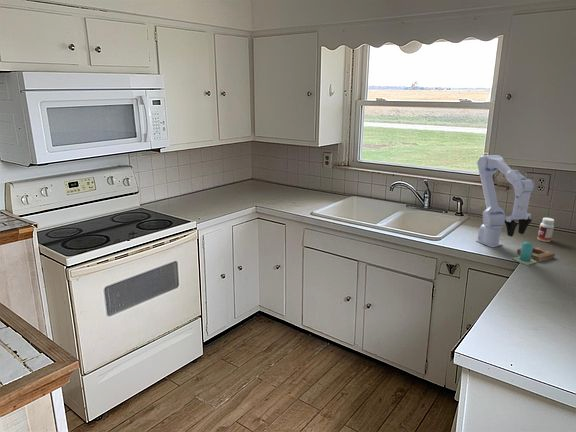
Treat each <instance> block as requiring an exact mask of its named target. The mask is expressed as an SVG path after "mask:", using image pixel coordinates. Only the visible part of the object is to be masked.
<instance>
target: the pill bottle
mask: <svg viewBox="0 0 576 432" xmlns="http://www.w3.org/2000/svg"><path fill="white" fill-rule="evenodd" d="M554 223H555V219H554V218H551V217H543V218H542V222H541V223H540V224H539V227H538V234H537V240H538V241H540V242H545V243H547V242H548V243H550V242H551V240H552V239H553V238H552V237H553V233H554V228H555V225H554Z"/></svg>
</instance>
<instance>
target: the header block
mask: <svg viewBox="0 0 576 432" xmlns="http://www.w3.org/2000/svg"><path fill="white" fill-rule="evenodd" d="M521 248H522V247H521ZM521 248H517V252H516V253H517V254H519V255H520V253H521ZM555 255H556V253H554V252H551V251H548V250H546V249H544V248H540V247H538V246H535V245H534V246H533V250H532V255H531V259H533V260H535V261H537V263H538V262H543V261H547V260H550V259H551V260H552V259H554V258H555Z"/></svg>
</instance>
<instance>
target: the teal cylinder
mask: <svg viewBox="0 0 576 432" xmlns="http://www.w3.org/2000/svg"><path fill="white" fill-rule="evenodd" d="M533 246H535V244H534V243H533V242H531V241H527V240H526V241H525V240H524V241H522V245H521V253H520V254H519V256H520V258H519V259H520V260H522V261H525V262H529V261H530V260H531V255H532V250H533Z"/></svg>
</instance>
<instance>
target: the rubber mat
mask: <svg viewBox="0 0 576 432" xmlns="http://www.w3.org/2000/svg"><path fill="white" fill-rule="evenodd" d="M519 258H520V255H519V256H515V257H513V258H512V260H513V259H514V260H513V261H515V260H516V262H518V263H521V264H523V265H525V266H528V265H532V264H536V263H538V261H535V260H533V259H531V260H530V261H529V262H525V261H522V260H520V259H519Z"/></svg>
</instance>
